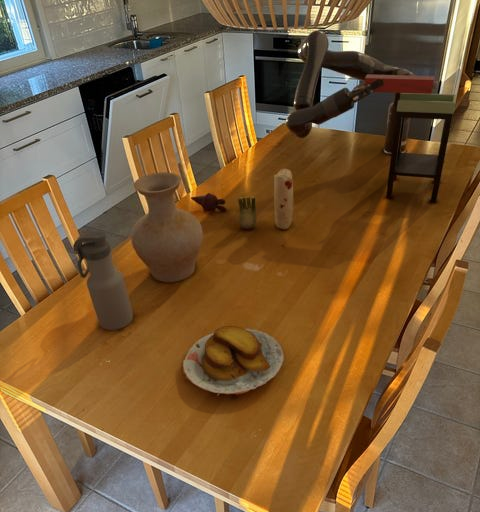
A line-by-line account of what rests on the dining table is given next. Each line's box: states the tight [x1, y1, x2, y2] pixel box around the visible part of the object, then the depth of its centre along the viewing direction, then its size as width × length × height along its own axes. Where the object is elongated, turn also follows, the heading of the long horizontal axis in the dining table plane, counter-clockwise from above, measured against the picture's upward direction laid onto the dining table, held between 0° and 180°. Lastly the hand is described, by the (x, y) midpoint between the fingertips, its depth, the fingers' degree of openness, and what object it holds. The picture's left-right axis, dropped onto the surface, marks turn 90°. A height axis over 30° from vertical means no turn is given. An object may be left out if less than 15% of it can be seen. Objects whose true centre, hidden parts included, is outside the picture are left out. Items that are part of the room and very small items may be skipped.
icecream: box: [190, 192, 228, 213], centre depth 193 cm, size 7×7×15 cm
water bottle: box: [72, 230, 134, 331], centre depth 137 cm, size 10×10×28 cm
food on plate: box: [182, 325, 286, 397], centre depth 126 cm, size 25×25×7 cm
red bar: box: [364, 75, 440, 94], centre depth 171 cm, size 4×24×4 cm, turn 71°
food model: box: [273, 168, 294, 230], centre depth 176 cm, size 10×7×20 cm
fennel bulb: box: [237, 196, 258, 230], centre depth 178 cm, size 6×5×12 cm
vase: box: [130, 171, 204, 283], centre depth 155 cm, size 22×22×30 cm
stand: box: [385, 111, 454, 204], centre depth 187 cm, size 19×18×32 cm
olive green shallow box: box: [397, 93, 457, 115], centre depth 172 cm, size 9×18×4 cm, turn 70°
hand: (383, 79), depth 172 cm, fingers closed on red bar, 4 cm apart
